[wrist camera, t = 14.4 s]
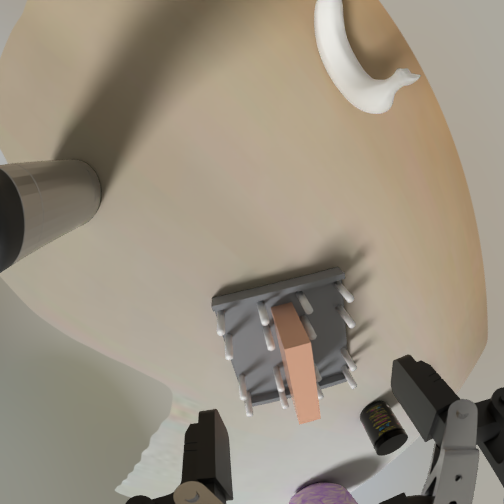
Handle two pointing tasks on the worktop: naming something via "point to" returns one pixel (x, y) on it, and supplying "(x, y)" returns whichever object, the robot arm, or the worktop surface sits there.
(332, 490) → the bowl of food
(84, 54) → the worktop surface
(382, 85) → the white plaster fruit
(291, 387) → the block
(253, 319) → the rack
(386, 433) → the supplement container
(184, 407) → the worktop surface
